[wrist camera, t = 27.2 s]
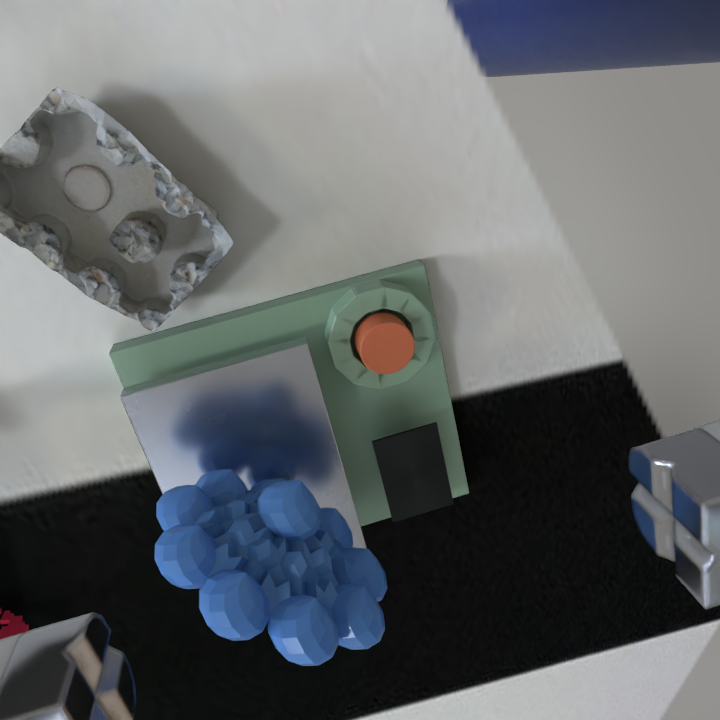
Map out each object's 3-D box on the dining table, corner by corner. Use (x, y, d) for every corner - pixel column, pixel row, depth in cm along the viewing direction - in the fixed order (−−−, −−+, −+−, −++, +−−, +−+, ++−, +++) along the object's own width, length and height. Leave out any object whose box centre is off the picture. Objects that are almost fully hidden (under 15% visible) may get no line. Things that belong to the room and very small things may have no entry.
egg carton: (-21, 184, 32) (-55, 195, 28) (80, 73, 31) (58, 69, 27) (150, 326, 36) (139, 352, 32) (244, 231, 35) (244, 248, 31)
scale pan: (411, 305, 35) (417, 312, 34) (454, 508, 41) (460, 519, 40) (123, 387, 34) (119, 396, 33) (208, 584, 40) (207, 598, 39)
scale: (418, 258, 37) (432, 272, 35) (462, 481, 44) (477, 507, 41) (112, 344, 36) (102, 364, 33) (205, 560, 43) (202, 592, 40)
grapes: (388, 446, 37) (453, 594, 26) (347, 541, 39) (390, 715, 28) (186, 394, 34) (162, 538, 23) (152, 501, 36) (115, 681, 25)
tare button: (401, 305, 36) (409, 315, 34) (411, 354, 37) (419, 366, 35) (349, 320, 35) (354, 331, 34) (361, 368, 37) (367, 381, 35)
